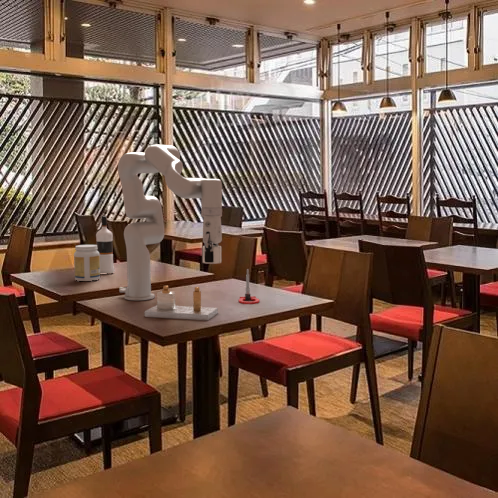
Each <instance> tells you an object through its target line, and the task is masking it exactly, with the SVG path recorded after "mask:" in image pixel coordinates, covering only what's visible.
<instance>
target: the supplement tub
mask: <svg viewBox="0 0 498 498" xmlns="http://www.w3.org/2000/svg"><path fill="white" fill-rule="evenodd" d="M97 249H98V248H97V244H78V245H75V251H74V253H73V260H74V261H73V262H74V263H73V265H74V266H73V267H74V280H75V281H76V280H77V281H76V282H79V281H91V280H97V279H99V280H100V278H101V275H100V256H99V255H100V254H99V252H98V251H97ZM97 281H98V280H97ZM91 282H92V281H91Z"/></svg>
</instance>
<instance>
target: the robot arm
mask: <svg viewBox="0 0 498 498" xmlns="http://www.w3.org/2000/svg"><path fill="white" fill-rule="evenodd" d="M180 155H181V154H180V151H179V150H178V149H177V147H175V146H174V145H171V144H152V145H151V144H150V145H149V146H148V147H147V148H146V149H145V151H144V152H139V151H137V152H136V151H133V152H127V153H124V154H123V155H121V157H120V158H119V160H118V164H117V173H118V174H117V175H118V177H119V180H120V184H121V189H122V197H123V205H124V213H125V216H126V217H127V218H129V219H131V220H133V219H134V220H139V219H140V220H141V219H142V220H143V219H145V221H135V222H131V223H129V224H127V225H126V226H125V228H124V231H123V239H124V243H125V248H126V262H127V263H126V265H127V266H126V268H127V269H126V270H127V273H126V274H127V286H126V287H122V286H121V287H119V289H118V290H119V293H121V294H122V293H124V295H123V298H124V300H128V301H149V300H152V299H155V298H156V294H155V293H152V285H151V284H152V282H151V281H152V280H151V277H152V274H151V271H152V270H151V254H150V251H149V249H148V247H147V246H148V245H154V244H159V243H161V242H162V240H164V237H165V223H164V217H163V208H162V204H161V201H160V200H159V199H158V198H157V196H153V195H145V192H144V185H143V181H142V180H141V178H140V177H139V176H138V175H137V174H156V173H157V174H158V173H160V174H161V175H163V176H164V181H165V184H166V186H167V188H168V189H169V190H170V191H171V192H172V193H173V194H175V195H176V196H177V197H180V198H181V199H201V203H200V204H201V206H200V209H201V213H200V214H201V217H202V218H203V220H202V221H203V222H202V242H203V243H204V246H205V262H214V251H213V245H217V246H220V245H219V244H220V243H221V242H222V241H223V233H222V218H221V217H222V216H223V204H222V203H223V202H222V201H223V198H222V197H223V190H222V189H223V188H222V187H223V183H222V182H223V181H222V180H221V179H219V178H204V177H184V176H183V175H182V174H181V173H182V172H183V168H184V166H183V162H182V161H181V160H180V159H181V156H180ZM210 245H211V247H210Z"/></svg>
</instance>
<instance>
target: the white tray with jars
mask: <svg viewBox="0 0 498 498" xmlns="http://www.w3.org/2000/svg"><path fill="white" fill-rule="evenodd" d="M201 291H202V290H200V286H194V291H192V300H193V303H192V306H188V305H187V306H185V305H176V292H175V291H172V290H170V288H169V285H163V288H162V289H161V291H157V292H156V305H154V306H152V307H150V308H148V309H146V310H145V311H144V317H146V318H162V319H178V320H195V321H196V320H197V321H209V320H211V319H213V318H214V317H215V316H217V315H218V314H219V309H218V308H219V307H210V306H209V307H208V306H207V307H205V306H202V292H201Z"/></svg>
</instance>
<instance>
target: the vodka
mask: <svg viewBox="0 0 498 498" xmlns="http://www.w3.org/2000/svg"><path fill="white" fill-rule="evenodd" d="M100 217H101V229H99V230H97V232H96V234H95V238H96V245H97V248H98V249H97V251H98V252H99V254H100V255H99V256H100V273H113V272H114V273H115V267H114V254H113V253H114V252H113V249H114V247H113V241H114V239H113V238H114V237H113V232H112V231H111V230H110V229H108V228H107V227H108V225H107V224H108V223H107V222H108V221H107V218H108V217H107V215H106V216H105V215H101V216H100ZM114 273H113V274H114Z"/></svg>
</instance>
